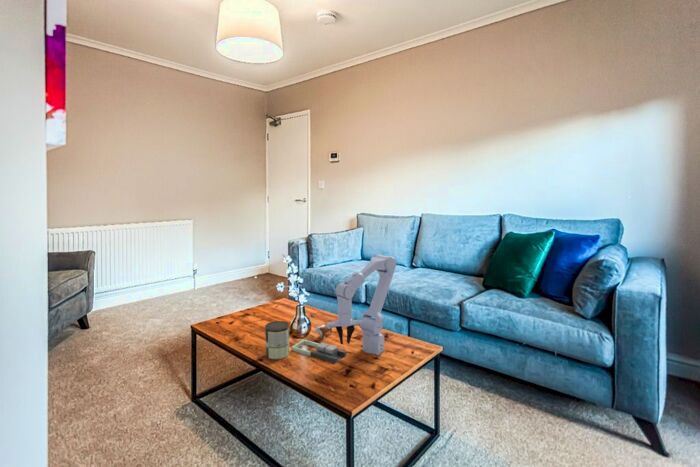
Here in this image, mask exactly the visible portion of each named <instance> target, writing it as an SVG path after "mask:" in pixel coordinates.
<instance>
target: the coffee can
mask: <svg viewBox="0 0 700 467" xmlns="http://www.w3.org/2000/svg"><path fill="white" fill-rule="evenodd" d="M264 330H265V357H266V358H268V359H270V360H283V359H286V358H287V357H289V356H290V323H288V322H287V321H285V320H283V321H281V320H274V321H271V322H268V323H266V324H265V325H264Z"/></svg>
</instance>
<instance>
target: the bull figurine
mask: <svg viewBox="0 0 700 467" xmlns="http://www.w3.org/2000/svg"><path fill="white" fill-rule="evenodd" d="M329 322H331V321H330V320H328V321H326V322H324V323H323V324H321V325H316V326H315V329H314V330H313V332H314V333H317V334H319V336H320V339H322V338H323V340H324V341H325V340H326V335H327V333H329V332H330V335H332V334H333V333H332V332H333V330H332V328H330V329H328V327H327V323H329Z"/></svg>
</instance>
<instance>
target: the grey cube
mask: <svg viewBox="0 0 700 467" xmlns="http://www.w3.org/2000/svg"><path fill="white" fill-rule="evenodd" d="M338 349H339V348H338V346H335V345H333V344H329V346H327V347H326V348H325V354H327V355H330V356H334V357H337V356H338Z"/></svg>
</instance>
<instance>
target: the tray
mask: <svg viewBox="0 0 700 467" xmlns="http://www.w3.org/2000/svg"><path fill="white" fill-rule="evenodd" d="M319 344H320V343H318V342H314V341H311V340H307V339H303V340H302V341H300V342H297V343H295V344H294V345H292V346H291V351H293V352H297V353H298V354H299V353H300V354H303V355H305V356H309V357H312V356H311V351H310V350H306V349H303V348H300V347H302V346H303V345H307V346H312V347H314V348H317V345H319Z"/></svg>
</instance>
